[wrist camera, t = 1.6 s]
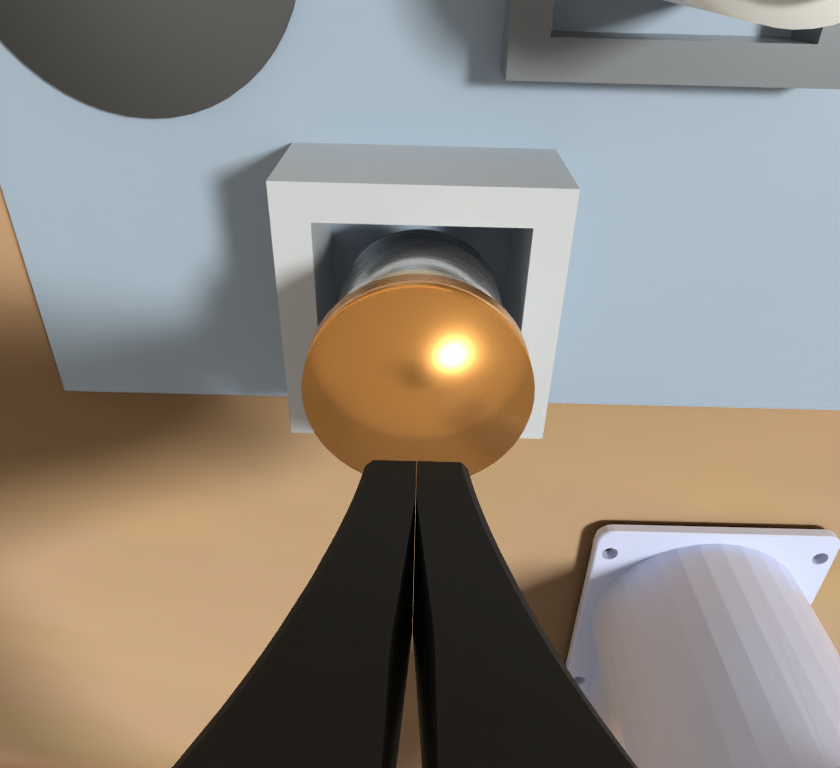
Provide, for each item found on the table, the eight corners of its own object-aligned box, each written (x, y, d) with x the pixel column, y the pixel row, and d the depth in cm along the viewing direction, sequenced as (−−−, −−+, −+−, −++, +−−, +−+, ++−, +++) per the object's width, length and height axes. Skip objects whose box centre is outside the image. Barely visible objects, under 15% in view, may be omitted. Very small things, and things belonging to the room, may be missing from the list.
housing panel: (828, 398, 20) (901, 479, 17) (73, 379, 20) (10, 457, 17) (1170, -410, 11) (1444, -540, 8) (-176, -449, 11) (-401, -594, 8)
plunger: (504, 385, 17) (521, 488, 13) (331, 381, 17) (308, 482, 13) (522, 217, 14) (548, 294, 11) (321, 212, 14) (292, 288, 11)
